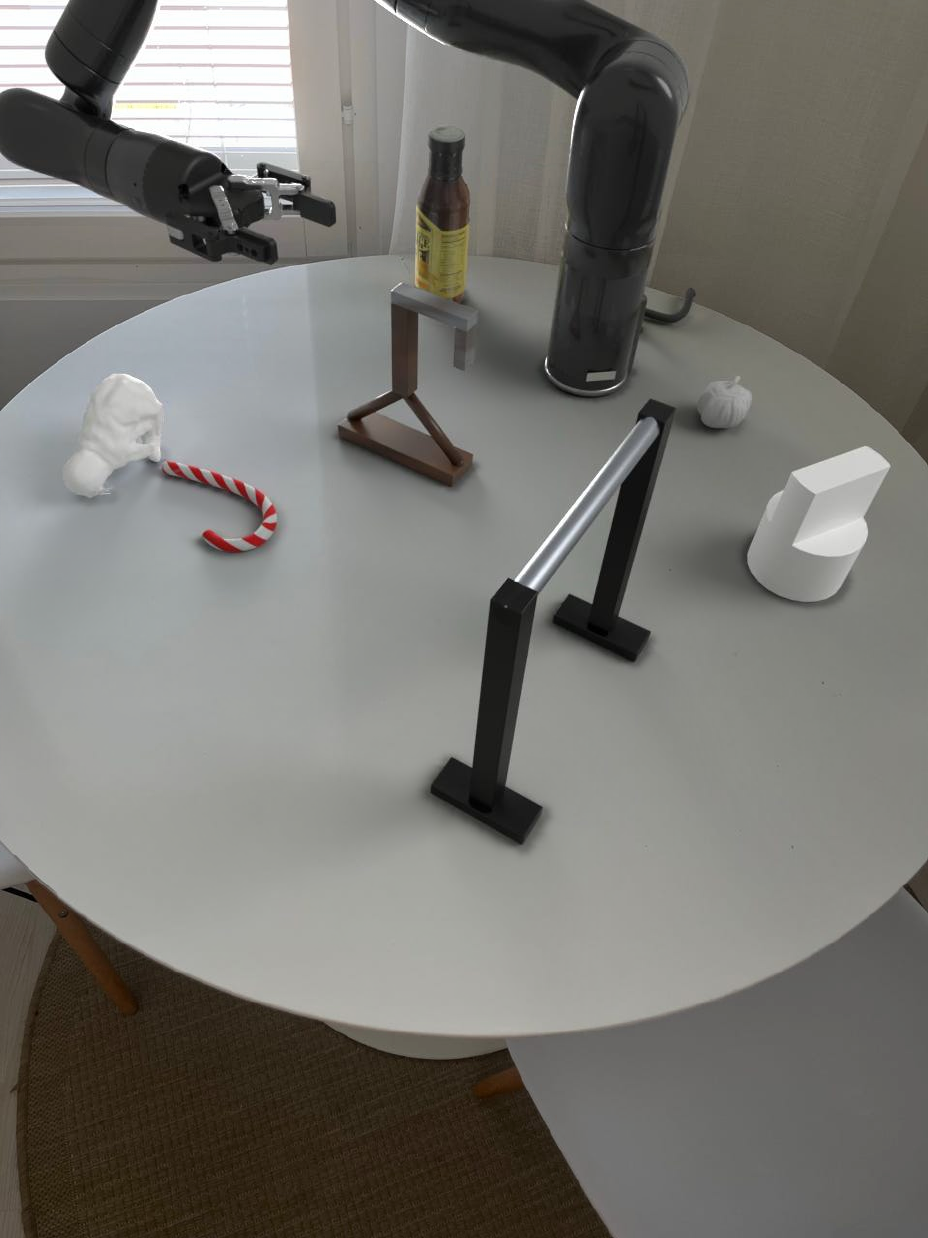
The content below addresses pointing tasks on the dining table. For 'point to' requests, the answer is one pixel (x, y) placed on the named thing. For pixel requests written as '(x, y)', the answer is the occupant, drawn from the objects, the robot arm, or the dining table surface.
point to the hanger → (392, 436)
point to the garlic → (724, 404)
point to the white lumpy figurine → (114, 433)
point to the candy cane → (237, 488)
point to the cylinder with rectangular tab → (816, 526)
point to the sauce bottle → (443, 217)
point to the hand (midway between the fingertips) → (305, 233)
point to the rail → (556, 622)
